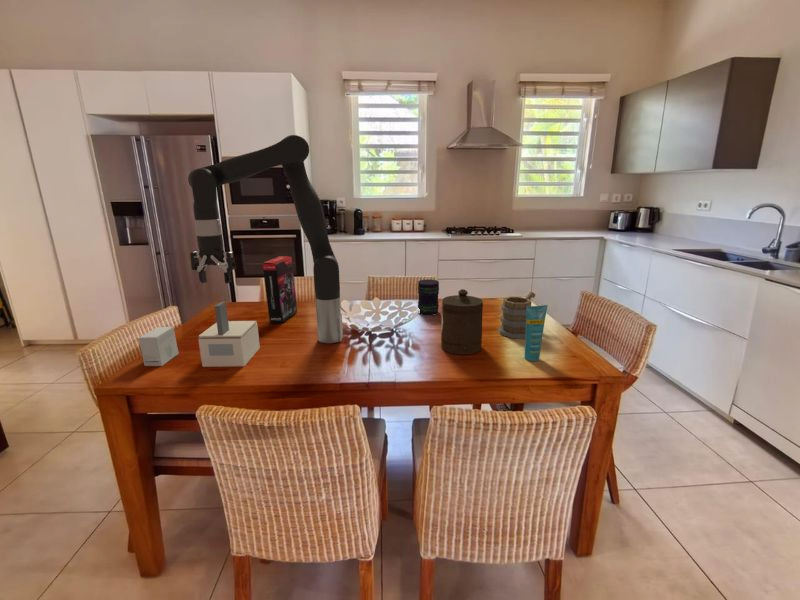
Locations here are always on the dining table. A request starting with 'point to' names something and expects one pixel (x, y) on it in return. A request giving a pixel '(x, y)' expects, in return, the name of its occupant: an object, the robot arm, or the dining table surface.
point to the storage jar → (428, 296)
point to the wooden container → (461, 324)
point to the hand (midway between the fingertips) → (215, 282)
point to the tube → (534, 331)
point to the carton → (229, 349)
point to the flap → (226, 325)
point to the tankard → (514, 316)
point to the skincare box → (158, 346)
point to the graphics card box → (280, 288)
